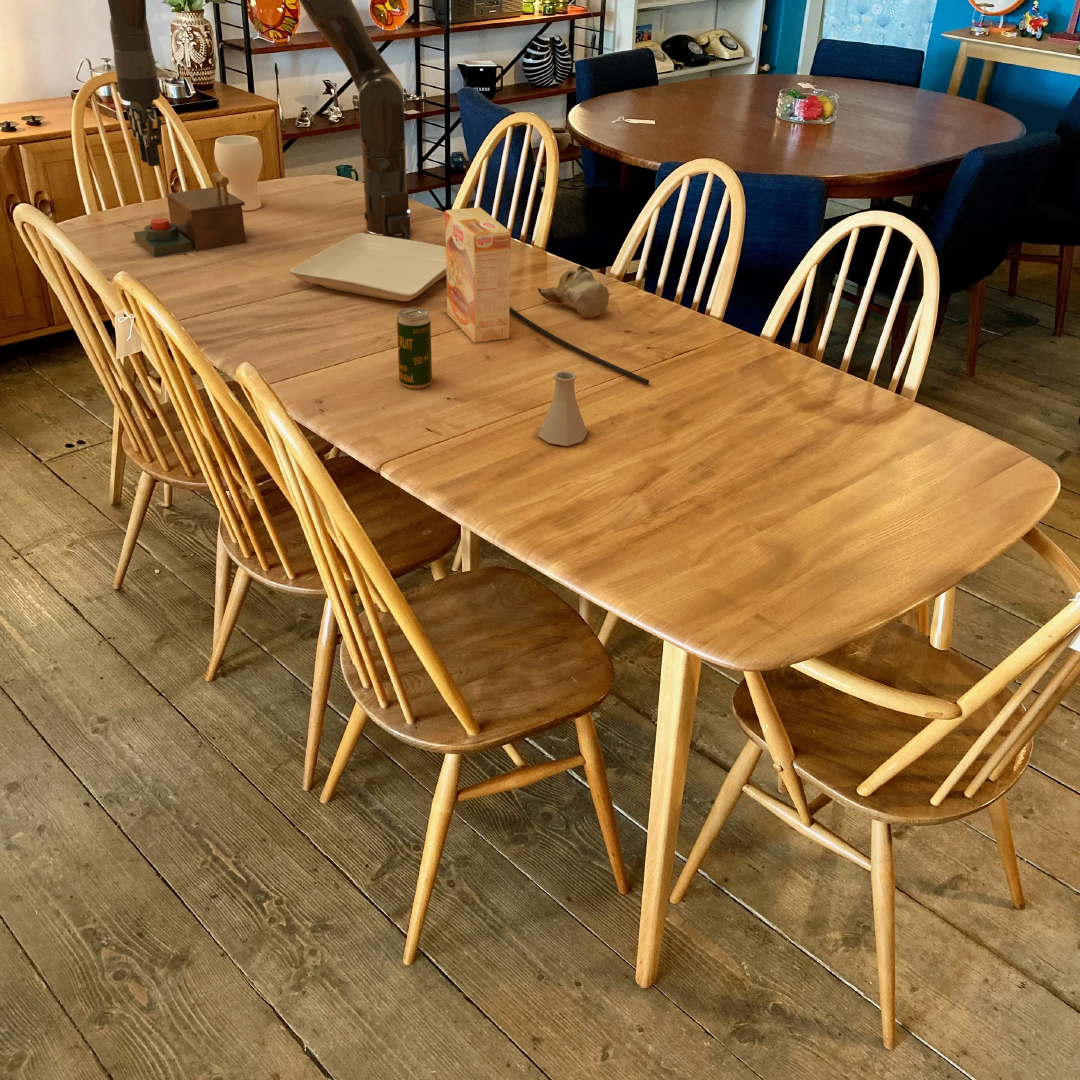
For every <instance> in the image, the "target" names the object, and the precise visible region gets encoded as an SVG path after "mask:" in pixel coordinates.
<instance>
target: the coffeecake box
mask: <svg viewBox="0 0 1080 1080" xmlns="http://www.w3.org/2000/svg"><path fill="white" fill-rule="evenodd" d="M444 219H445V220H444V223H445V247H446V273H447V275H446V314H447V316H448V317H449V318H450V319H452V321H454V323H455V324H456V325H457V326H458V327H459V328H460V329H461V330H462V331H463V332H464V333H465V334H466V335H467V337H468V338H469V339H470V340H471V341H473V342H472V343H474V344H477V343H478V344H479V343H485V342H490V341H497V340H498V341H499V340H506V339H509V338H510V312H509V306H510V304H511V303H510V302H511V300H510V298H511V297H510V296H511V294H510V292H511V233H512V232H511V230H509V229H508V228H506V227H505V226H504V225H503V224H501V223H500V222H499V221H498V220H496V218H494V217H493V216H491V214H489V213H488V212H487V211H486V210H484V209H483V208H482V207H470V208H452V209H446V210H444ZM510 307H511V306H510Z"/></svg>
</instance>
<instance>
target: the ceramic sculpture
mask: <svg viewBox="0 0 1080 1080" xmlns="http://www.w3.org/2000/svg"><path fill="white" fill-rule="evenodd" d="M537 291H538V293H539V294H540V296H542V297H543V298H544V299H545V300H546V301H548V302H550V303H553V304H562V305H564V306H566V307H568V308H570V309H573V310H576V311H577V313H578V314H579V315H580V317H582V318H590V319H591V318H593V319H594V318H596V317H598V316H599V315H601V314H603V313H604V312H605V310H607V307H608V305H609V301H610V293H609V289H608V287H607V286H606V284H604V283H601V282H600V283H599V282H597V280H596V277H594V274H593V273H592V271H591V270H589V268H586V266H583V265H580V266H578V267H577V269H576V268H575V269H569V270H567V271H565V272H564V273H563V274H562V275H561V276H560V279H559V281H558V284H557V286H556V287H553V286H552V287H547V288H540V287H539V288H537Z"/></svg>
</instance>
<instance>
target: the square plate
mask: <svg viewBox="0 0 1080 1080" xmlns="http://www.w3.org/2000/svg"><path fill="white" fill-rule="evenodd" d="M289 273H290V274H291V275H293V276H294V277H295V278H297V279H298V280H299V281H302V282H305V283H308V284H309V283H310V284H314V285H320V286H323V287H324V288H326V289H329V290H336V291H340V292H346V293H350V294H356V295H361V296H366V297H372V298H375V299H376V298H377V299H381V300H386V301H398V302H399V301H400V302H409V301H412V300H414V299H415V298H418V296H420V295H421V294H423V292H425V291H426V290H427V289H429V288H430V287H431V286H433V285H434V284H435V283H437V282H438V281H440V280H441V279H443V278H444V277H446V276H447V273H446V246H445V245H444V246H443V245H439V244H434V243H428V242H423V241H417V240H411V239H410V240H406V238H405V239H404V238H401V237H396V238H393V237H386V236H378V235H371V234H367V233H366V232H365V233H364V232H357V233H354V234H352V235H350V236H348V237H346V238H344V239H342V240H341V241H338V242H337V243H335V244H333V245H331V246H329V247H326V248H325V249H324V250H323V249H322V251H320V252H318V253H316V254H315V255H313V256H311V257H310V258H307V259H306V260H304V261H303V262H301V263H299V264H298V265H296V266H294V267H293V268H291V269H290V270H289Z"/></svg>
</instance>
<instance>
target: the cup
mask: <svg viewBox="0 0 1080 1080" xmlns="http://www.w3.org/2000/svg"><path fill="white" fill-rule="evenodd" d="M214 142H215V143H214V151H213V155H214V162H215V165H216V167H217V169H218V173H220V174H222V175H223V176H225V177H227V178H228V179H229V184H228V185H227V192H229V193H230V194H232V195H233V196H235V197H237V198H238V199H240V200H242V201H243V202H244V203H245V205H243V206H242V212H243V211H244V212H245V211H246V212H247V211H254V210H257V209H260V208H261V207H262V202H261V198H260V194H259V191H258V180H259V177H260V174H261V172H262V167H263V160H264V159H263V150H262V147H261V144H260V140H259V138H257V137H255V136H251V135H242V134H240V135H239V134H237V135H236V134H235V135H226V136H221V137H218V138H216V139H215V140H214Z"/></svg>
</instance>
